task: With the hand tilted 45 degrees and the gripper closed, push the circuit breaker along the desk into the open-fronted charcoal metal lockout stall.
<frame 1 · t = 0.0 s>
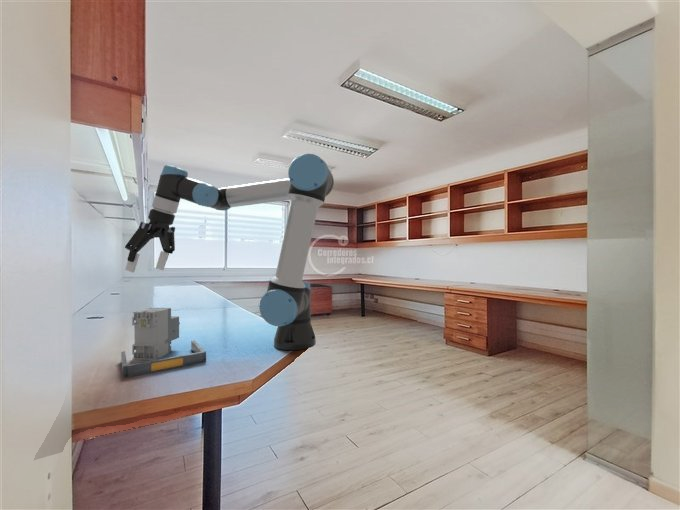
hand: (145, 270, 106), 28 cm above the table, tool tilted 20°, fingers open, 13 cm apart
lockout stall: (163, 361, 96), on the table
circuit breaker: (158, 353, 105), on the table
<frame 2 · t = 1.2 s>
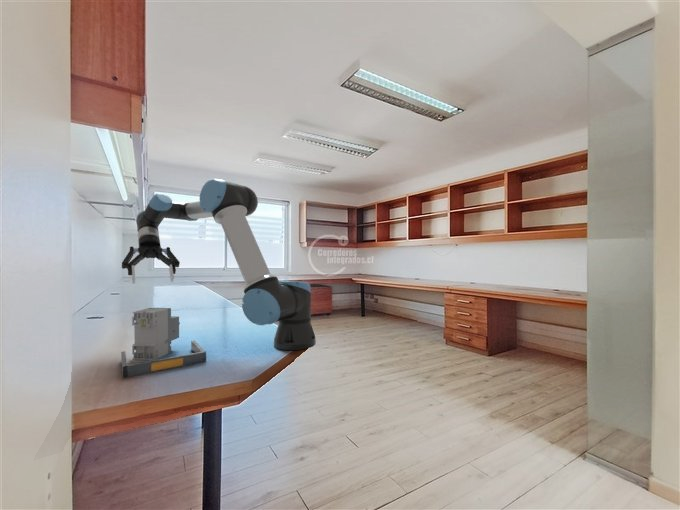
hand: (153, 280, 115), 24 cm above the table, tool tilted 45°, fingers open, 12 cm apart
nothing on the table moved.
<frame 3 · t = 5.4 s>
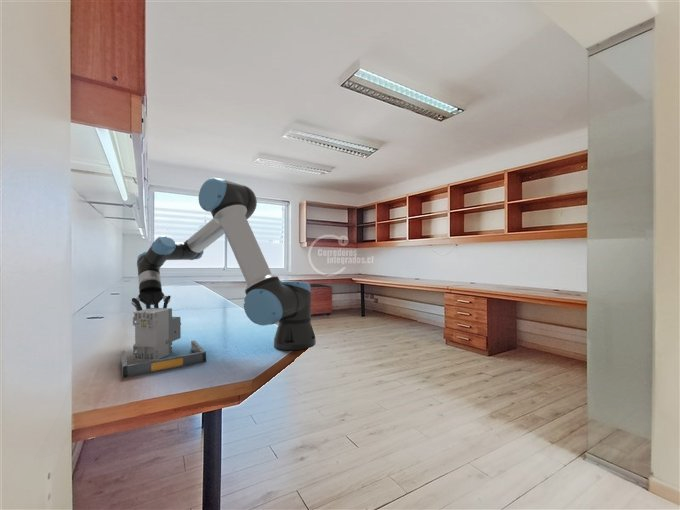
hand: (155, 335, 109), 5 cm above the table, tool tilted 45°, fingers closed
circuit breaker: (159, 353, 104), on the table, touching gripper
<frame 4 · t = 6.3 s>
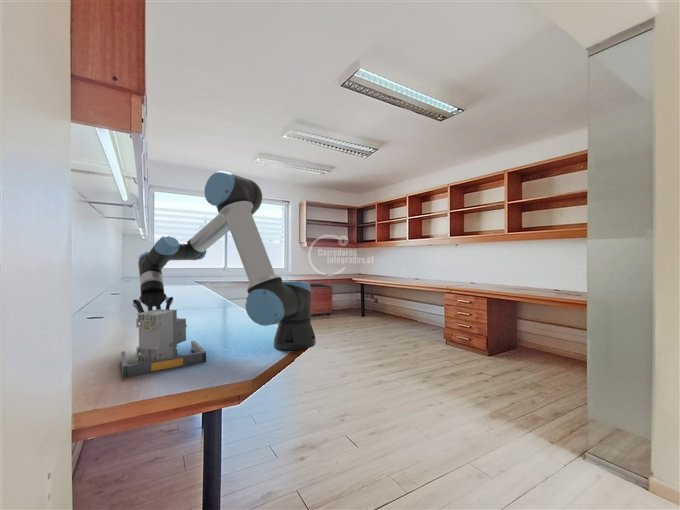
hand: (157, 338, 105), 5 cm above the table, tool tilted 45°, fingers closed
circuit breaker: (164, 356, 101), on the table, touching gripper
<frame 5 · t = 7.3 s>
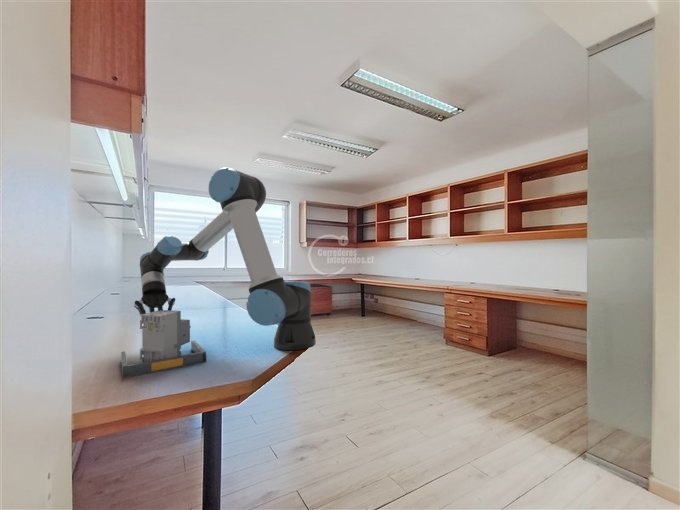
hand: (159, 340, 102), 5 cm above the table, tool tilted 45°, fingers closed
circuit breaker: (168, 358, 99), on the table, touching gripper
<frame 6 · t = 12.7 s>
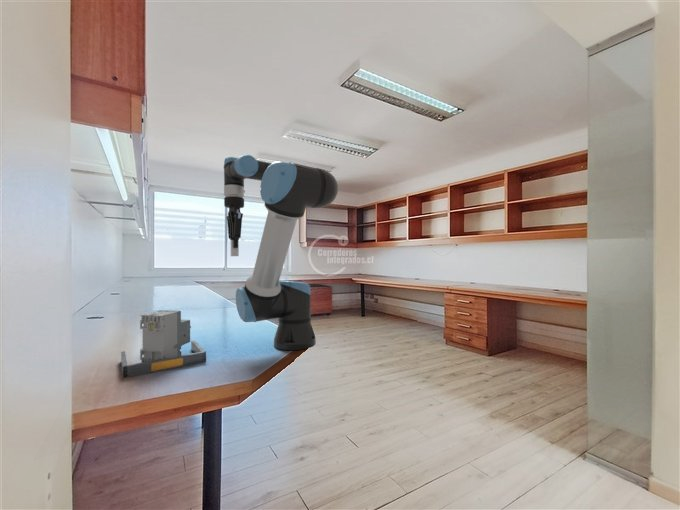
hand: (234, 256, 124), 32 cm above the table, tool pointing down, fingers closed
circuit breaker: (168, 358, 99), on the table
at the end: circuit breaker inside the target area on the lockout stall (2.6 cm from its centre), point 0.0 cm above the lockout stall's base; circuit breaker tilted 0°; circuit breaker moved 8.3 cm from its start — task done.
